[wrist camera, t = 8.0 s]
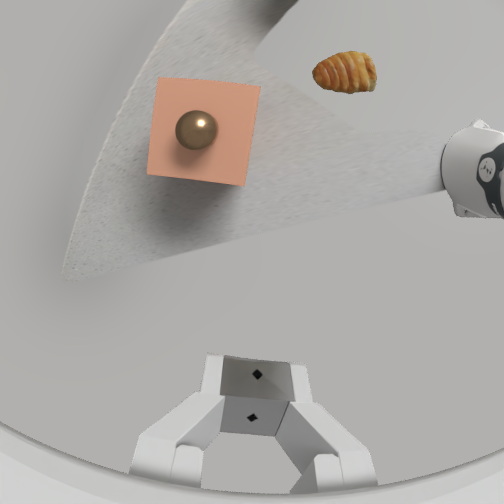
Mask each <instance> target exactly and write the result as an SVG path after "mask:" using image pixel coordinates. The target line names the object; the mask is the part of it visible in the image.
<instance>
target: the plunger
mask: <svg viewBox="0 0 504 504" xmlns="http://www.w3.org/2000/svg"><path fill="white" fill-rule="evenodd" d="M218 132H219V126H218V123H217V121H216V119H215V118H214V117H213V116H212V115H211V114H209V113H207V112H204V111H200V110H192V111H189V112H187V113H185V114H183V115H182V116H181V117H180V118H179V120H178V122H177V124H176V127H175V134H176V138H177V140H178V142H179V143H180V144H181V145H182V146H183V147H185V148H187V149H190V150H200V149H203V148H205V147H207V146H209V145H211V144H212V143H213V142H214V141H215V140H216V138H217V136H218Z"/></svg>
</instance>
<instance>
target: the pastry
mask: <svg viewBox="0 0 504 504" xmlns="http://www.w3.org/2000/svg"><path fill="white" fill-rule="evenodd" d="M312 74H313V78H314V80H315V81H316V83H317V84H318V85H319V86H321V87H322V88H323V89H327V90H333V91H335V92H345V93H348V94H352V93H354V92H366V91H373V90H374V89H375V86H376V80H377V76H376V69H375V65H374V64H373V62H372V59H371V58H370V57H369V56H368V55H367V54H366V53H359V52H355V51H349V52H344V53H338V54H336V55H333V56H331V57H329V58H327V59H325V60H323V61H322V62H320V63H318V64H317V66H316V67H315V68H314V70H313V71H312Z"/></svg>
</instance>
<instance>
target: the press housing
mask: <svg viewBox="0 0 504 504" xmlns="http://www.w3.org/2000/svg"><path fill="white" fill-rule="evenodd" d="M260 88H261V87H260V86H253V85H246V84H238V83H230V82H221V81H211V80H199V79H184V78H161V77H158V83H157V89H156V96H155V103H154V110H153V118H152V126H151V134H150V144H149V154H148V165H147V174H148V175H158V176H168V177H177V178H185V179H193V180H202V181H209V182H217V183H224V184H231V185H238V186H245V180H246V174H247V167H248V161H249V155H250V149H251V142H252V136H253V130H254V124H255V118H256V112H257V106H258V100H259V94H260ZM192 110H200V111H204V112H207V113H209V114H211V115H212V116H213V117H214V118H215V119H216V121H217V123H218V126H219V132H218V136H217V138H216V140H215V141H214V142H213V143H212V144H211V145H209V146H207V147H205V148H203V149H200V150H190V149H187V148H185V147H183V146H182V145H181V144H180V143H179V142H178V140H177V138H176V134H175V127H176V124H177V122H178V120H179V118H180V117H181V116H182V115H183V114H185V113H187V112H189V111H192Z"/></svg>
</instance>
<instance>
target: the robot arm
mask: <svg viewBox="0 0 504 504" xmlns="http://www.w3.org/2000/svg"><path fill="white" fill-rule="evenodd" d="M442 178H443V182H444V185H445V188H446V190H447V192H448V194H449V195H450V197H451V199H452V201H453V206H454V211H455V214H456V215H457V216H460V217H481V218H482V217H483V218H502V219H504V133H503V132H500V131H496V130H493V129H491V128H490V127H489V126H488V125H487V124H486V123H485V122H484V121H482V120H480V119H475V120H474V121H473V122H472V123H471V124H470V126H469V127H467V128H464V129H462V130H459V131H458V132H456V133H455V134H454V135H453V136H452V137H451V138H450V140H449V141H448V143H447V145H446V147H445V150H444V153H443V157H442ZM465 209H466V210H465ZM464 211H465V212H464ZM220 432H228V433H241V434H253V435H263V436H275V438H276V440H277V441H278V443H279V444H280V445H281V447H282V448H283V450H284V451H285V452H286V454H287V455H288V457H289V458H290V459H291V461H292V462H293V463H294V464H295V466H296V467H297V469H298V470H299V471H300V473H301V474H302V476H301V477H300V479H299V480H298V481H297V483H296V484H295V485H294V487H293V488H292V489H291V490H290V494H260V493H240V492H228V491H218V490H209V489H202V488H200V486H201V474H202V462H203V451H204V450H205V449H206V448H207V447H208V446H209V445H210V443H211V442H212V441H213V440H214V439H215V438H216V436H218V434H219V433H220ZM0 504H504V448H502V449H500V450H498V451H495V452H493V453H491V454H488V455H486V456H483V457H481V458H478V459H475V460H473V461H470V462H467V463H465V464H462V465H459V466H456V467H453V468H450V469H447V470H443V471H440V472H436V473H433V474H429V475H426V476H422V477H417V478H413V479H409V480H405V481H400V482H395V483H390V484H385V485H379V486H378V483H377V479H376V475H375V471H374V467H373V464H372V460H371V456H370V453H369V450H368V449H367V448H366V447H365V446H363V444H361V443H360V442H359V441H358V440H357V439H356V438H355V437H354V436H353V435H352V434H350V433H349V432H348V431H347V430H346V429H345V428H344V427H343V426H342V425H341V424H340V423H339V422H338V421H337V420H336V419H335V418H333V417H332V416H331V415H330V414H329V413H328V412H327V411H326V410H325V409H324V408H323V407H322V406H321V405H320V404H319V403H313V398H312V393H311V387H310V382H309V377H308V372H307V367H306V365H305V363H293V362H289V363H287V362H276V361H266V360H255V359H248V358H240V357H234V356H227V355H225V356H223V355H218V354H212V353H207V355H206V358H205V364H204V370H203V375H202V381H201V387H200V392H193V393H192V394H191V395H190V396H189V397H187V398H186V399H185V400H184V401H182V402H181V403H180V404H179V405H177V406H176V407H175V408H174V409H172V410H171V411H170V412H169V413H167V414H166V415H165V416H163V417H162V418H161V419H160V420H158V421H157V422H156V423H154V424H153V425H152V426H151V427H149V428H148V429H147V430H145V431H144V432H143V433H141V434H140V436H139V439H138V443H137V446H136V449H135V453H134V456H133V460H132V463H131V467H130V471H129V474H127V473H124V472H120V471H116V470H113V469H109V468H106V467H103V466H100V465H97V464H94V463H91V462H88V461H86V460H82V459H80V458H77V457H74V456H72V455H69V454H67V453H64V452H62V451H59V450H57V449H55V448H52V447H50V446H48V445H46V444H43V443H41V442H39V441H37V440H35V439H33V438H30V437H28V436H26V435H24V434H22V433H20V432H18V431H16V430H15V429H13V428H11V427H9V426H7V425H5V424H3V423H2V422H0Z"/></svg>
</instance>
